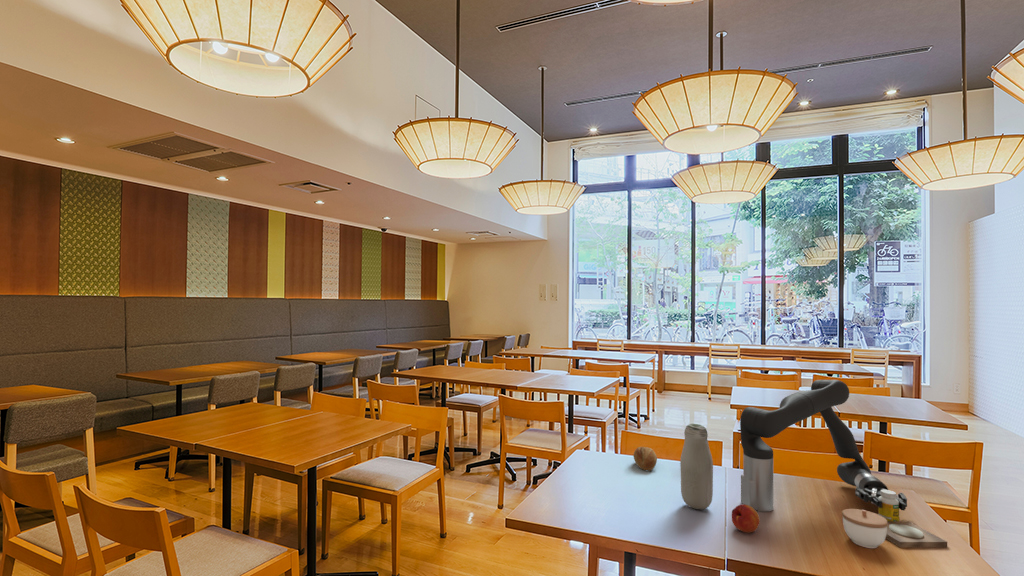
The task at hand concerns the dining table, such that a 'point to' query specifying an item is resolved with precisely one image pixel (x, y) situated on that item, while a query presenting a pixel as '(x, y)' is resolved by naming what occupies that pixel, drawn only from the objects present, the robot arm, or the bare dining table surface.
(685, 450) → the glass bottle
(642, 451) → the bread roll
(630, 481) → the dining table surface
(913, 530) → the serving board
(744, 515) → the fruit
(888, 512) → the supplement bottle
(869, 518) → the lidded jar
